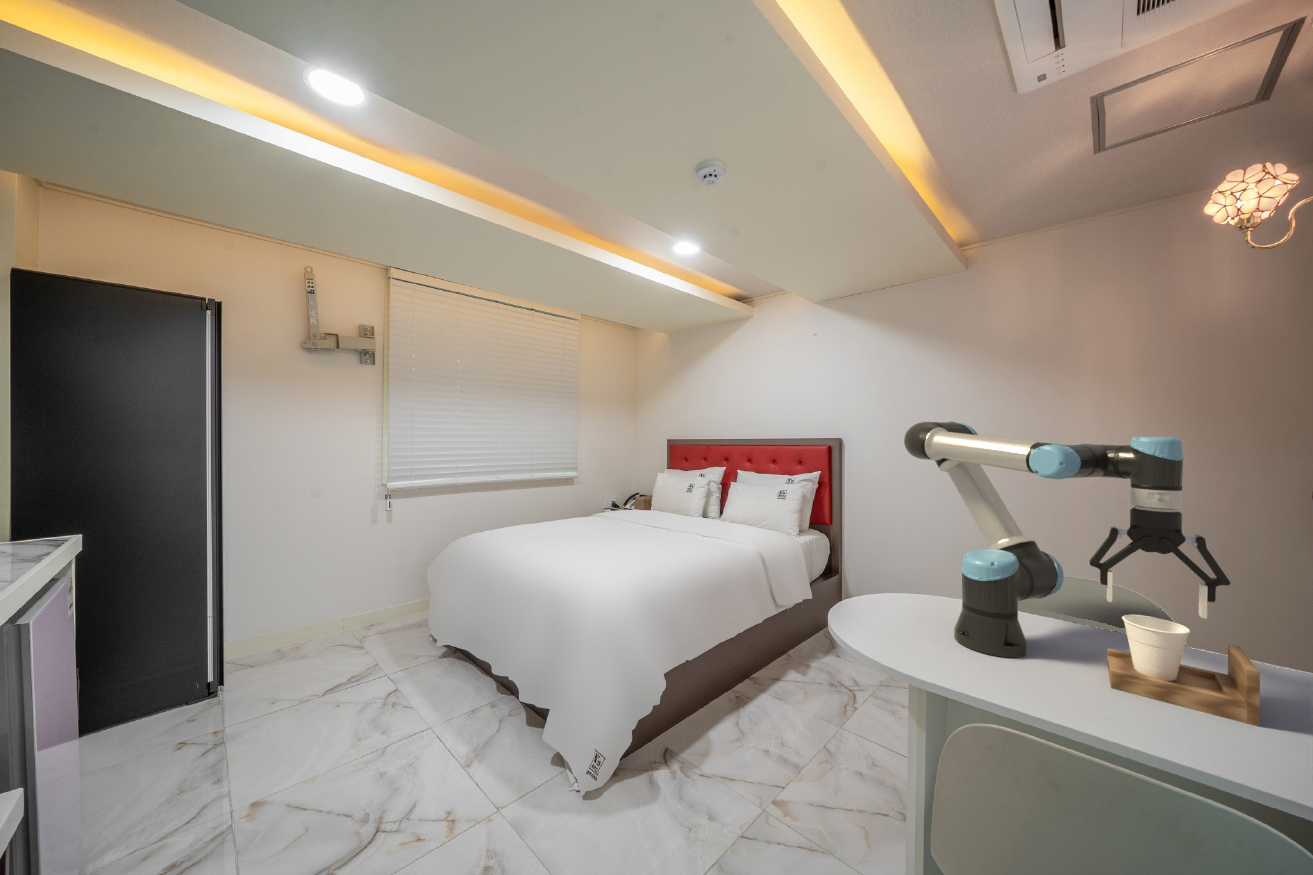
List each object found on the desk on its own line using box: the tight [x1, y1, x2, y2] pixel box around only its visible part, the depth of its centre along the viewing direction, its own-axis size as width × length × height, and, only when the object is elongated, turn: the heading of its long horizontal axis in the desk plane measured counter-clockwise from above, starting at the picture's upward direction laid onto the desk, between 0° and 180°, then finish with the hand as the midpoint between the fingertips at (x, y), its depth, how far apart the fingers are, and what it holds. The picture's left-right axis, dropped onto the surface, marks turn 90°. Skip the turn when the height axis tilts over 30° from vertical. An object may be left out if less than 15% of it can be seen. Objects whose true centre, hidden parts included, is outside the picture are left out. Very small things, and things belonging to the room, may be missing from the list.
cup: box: [1121, 614, 1191, 681], centre depth 99 cm, size 10×10×11 cm
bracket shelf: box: [1106, 644, 1261, 727], centre depth 97 cm, size 20×14×10 cm
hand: (1153, 608), depth 99 cm, fingers open, 13 cm apart
